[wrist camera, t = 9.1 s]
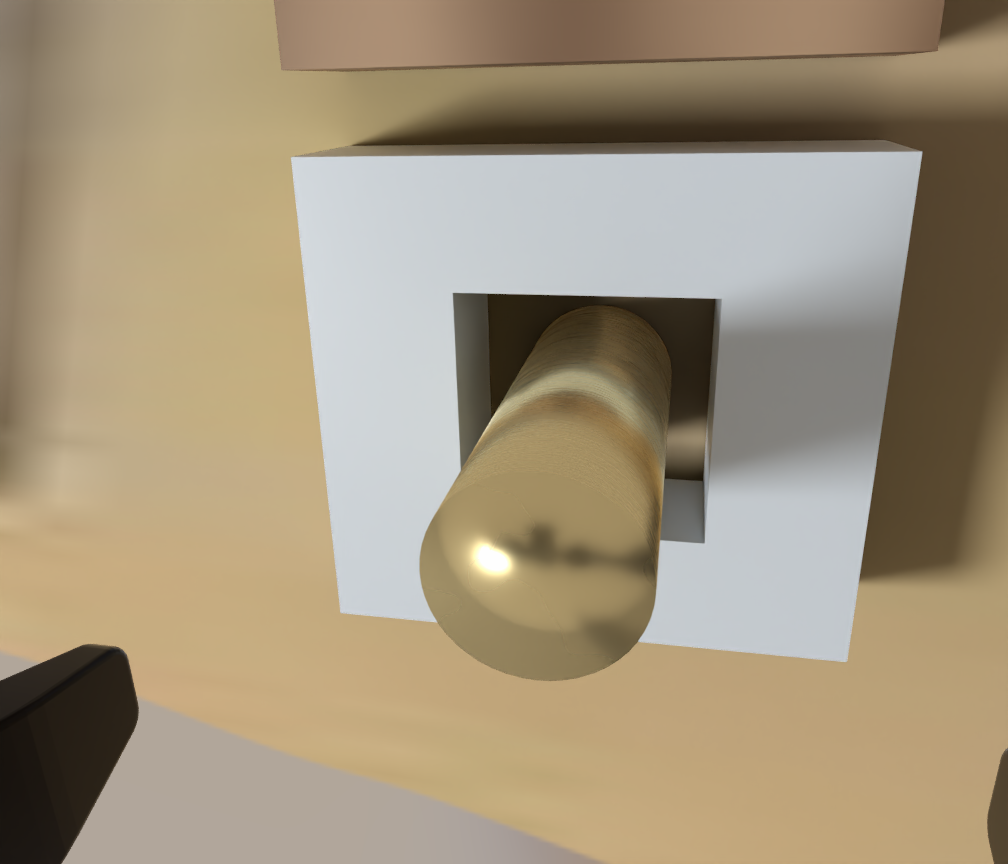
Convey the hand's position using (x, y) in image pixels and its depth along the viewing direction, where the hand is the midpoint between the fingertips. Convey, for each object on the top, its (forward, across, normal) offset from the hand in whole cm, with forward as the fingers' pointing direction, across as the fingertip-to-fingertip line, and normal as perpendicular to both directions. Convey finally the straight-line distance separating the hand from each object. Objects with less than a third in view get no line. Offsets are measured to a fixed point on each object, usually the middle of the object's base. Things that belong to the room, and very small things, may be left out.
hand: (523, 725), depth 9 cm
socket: (+12, 0, 0) cm, 12 cm away
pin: (+12, 0, 0) cm, 12 cm away
